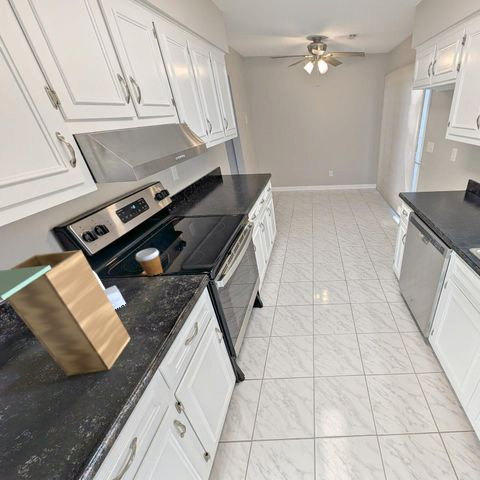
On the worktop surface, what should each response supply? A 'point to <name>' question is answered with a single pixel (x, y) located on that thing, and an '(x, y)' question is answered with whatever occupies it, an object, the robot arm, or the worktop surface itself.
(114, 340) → the tall bin
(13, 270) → the sliding top
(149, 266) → the disposable coffee cup
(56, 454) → the worktop surface
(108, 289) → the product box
